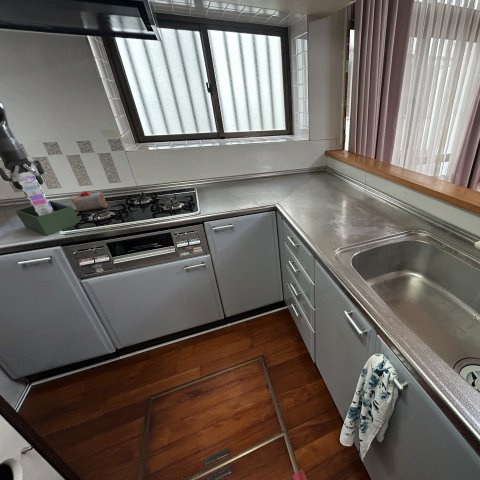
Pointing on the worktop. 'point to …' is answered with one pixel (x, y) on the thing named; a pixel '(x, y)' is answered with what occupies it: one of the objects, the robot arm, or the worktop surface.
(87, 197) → the food item
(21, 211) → the bin
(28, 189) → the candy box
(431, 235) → the worktop surface
